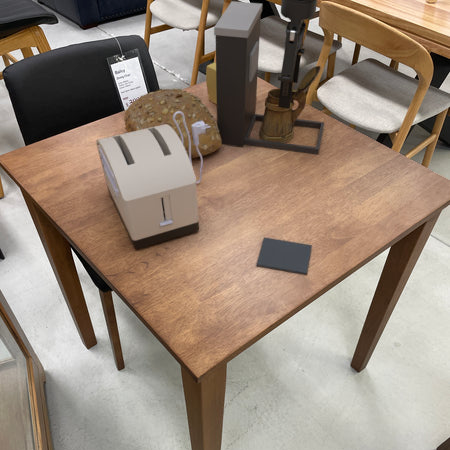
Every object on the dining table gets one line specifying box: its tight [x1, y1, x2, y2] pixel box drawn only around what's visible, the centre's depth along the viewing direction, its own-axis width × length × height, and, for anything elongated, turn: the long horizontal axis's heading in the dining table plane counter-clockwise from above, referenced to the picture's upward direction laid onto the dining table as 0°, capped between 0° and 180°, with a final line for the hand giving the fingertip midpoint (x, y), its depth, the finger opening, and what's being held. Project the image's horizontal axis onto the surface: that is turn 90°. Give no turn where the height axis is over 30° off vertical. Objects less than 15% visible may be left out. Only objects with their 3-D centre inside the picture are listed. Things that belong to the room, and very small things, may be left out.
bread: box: [123, 88, 223, 159], centre depth 110 cm, size 24×21×12 cm
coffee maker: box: [213, 0, 325, 155], centre depth 107 cm, size 26×17×28 cm, turn 76°
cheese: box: [205, 61, 217, 105], centre depth 125 cm, size 10×11×10 cm
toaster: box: [95, 111, 211, 250], centre depth 92 cm, size 23×25×17 cm
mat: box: [255, 236, 313, 276], centre depth 88 cm, size 10×8×1 cm
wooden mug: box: [258, 65, 322, 143], centre depth 110 cm, size 9×14×18 cm, turn 86°
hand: (288, 94), depth 108 cm, fingers open, 13 cm apart
